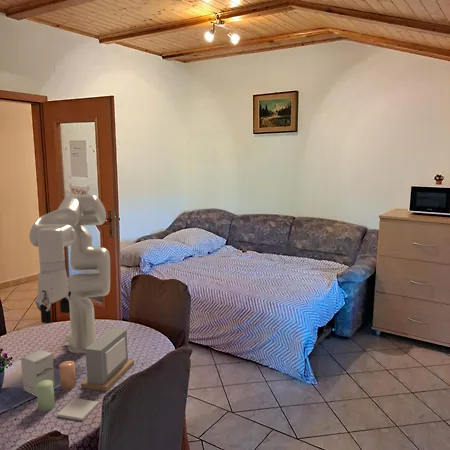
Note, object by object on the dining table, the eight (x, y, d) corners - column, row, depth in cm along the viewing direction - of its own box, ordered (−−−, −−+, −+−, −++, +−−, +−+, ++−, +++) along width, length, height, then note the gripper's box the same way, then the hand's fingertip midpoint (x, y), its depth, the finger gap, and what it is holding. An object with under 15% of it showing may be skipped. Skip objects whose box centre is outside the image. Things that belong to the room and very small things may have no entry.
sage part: (34, 410, 134) (32, 387, 133) (45, 401, 139) (43, 379, 137) (48, 412, 133) (46, 389, 131) (58, 403, 137) (56, 380, 136)
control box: (81, 387, 147) (78, 349, 145) (110, 360, 166) (108, 326, 164) (106, 391, 144) (104, 352, 142) (134, 363, 164) (132, 329, 161)
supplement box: (36, 397, 141) (33, 362, 139) (23, 391, 145) (19, 356, 143) (55, 387, 147) (52, 353, 145) (42, 381, 151) (39, 348, 149)
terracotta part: (57, 388, 147) (56, 366, 145) (66, 381, 151) (65, 360, 150) (70, 390, 145) (68, 368, 144) (79, 382, 150) (77, 361, 149)
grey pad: (57, 416, 131) (56, 414, 131) (74, 400, 139) (74, 398, 139) (82, 420, 128) (82, 418, 128) (98, 404, 137) (98, 401, 137)
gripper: (59, 260, 145) (62, 308, 148) (23, 272, 129) (28, 326, 131) (78, 260, 144) (81, 309, 146) (45, 273, 127) (49, 328, 129)
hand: (56, 317), depth 138 cm, fingers open, 9 cm apart
